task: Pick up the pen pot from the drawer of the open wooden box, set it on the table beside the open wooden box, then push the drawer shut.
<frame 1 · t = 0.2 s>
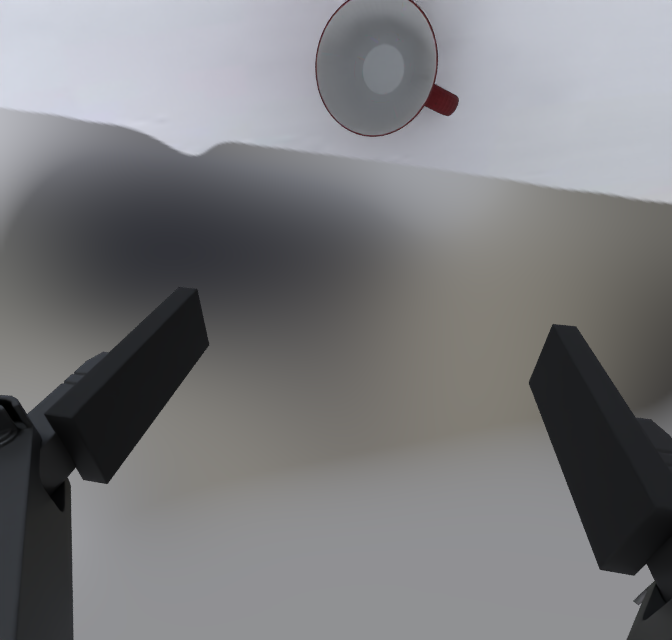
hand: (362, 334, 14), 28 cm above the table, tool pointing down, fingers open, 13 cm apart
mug: (397, 74, 33), on the table
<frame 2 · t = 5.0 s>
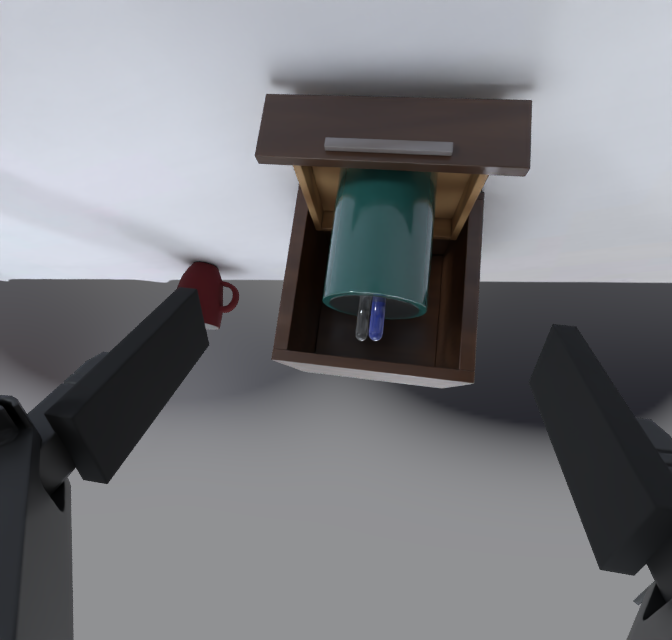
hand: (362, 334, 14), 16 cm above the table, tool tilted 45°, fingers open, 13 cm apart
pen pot: (388, 167, 27), point 2 cm above the table, touching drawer
open wooden box: (386, 223, 39), on the table
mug: (212, 265, 62), on the table
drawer: (386, 191, 28), point 3 cm above the table, slide at 10.0 cm, touching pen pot
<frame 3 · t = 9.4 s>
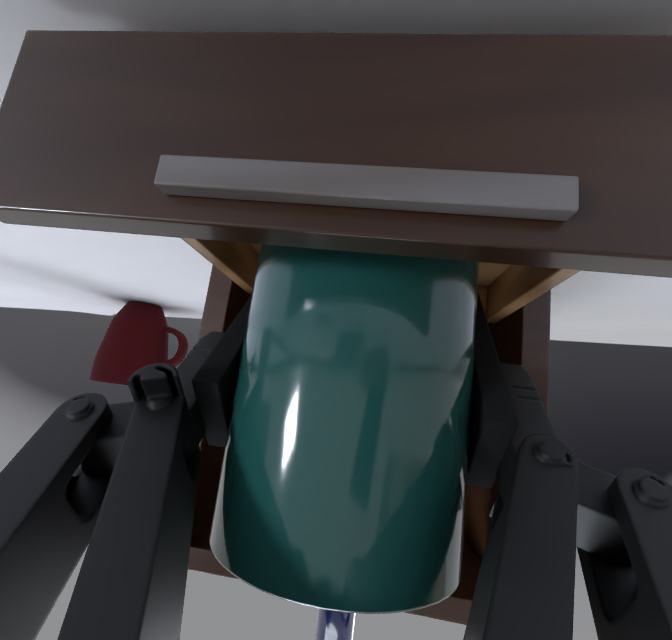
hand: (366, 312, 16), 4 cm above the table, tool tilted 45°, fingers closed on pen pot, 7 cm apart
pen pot: (373, 209, 13), point 2 cm above the table, touching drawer, gripper
open wooden box: (376, 277, 25), on the table
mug: (154, 304, 48), on the table
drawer: (368, 258, 13), point 3 cm above the table, slide at 10.0 cm, touching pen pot
when the fingers open (3 cm above the table, at t = 16.9 s): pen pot stays where it is, on the table.
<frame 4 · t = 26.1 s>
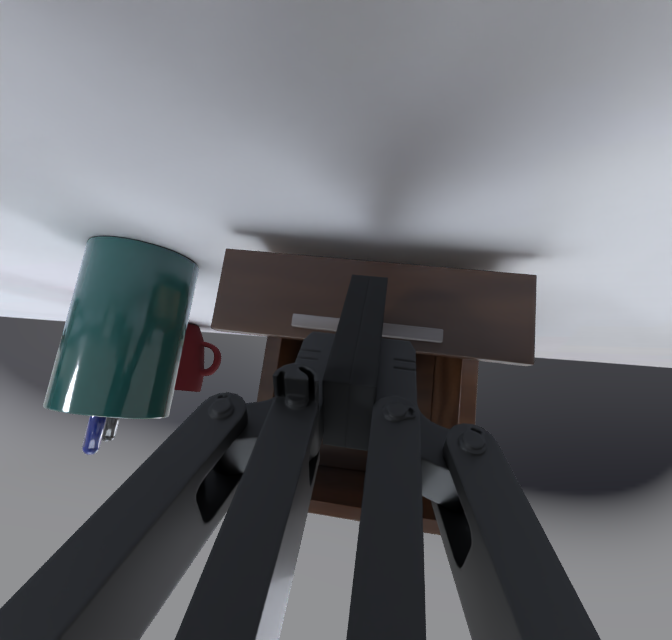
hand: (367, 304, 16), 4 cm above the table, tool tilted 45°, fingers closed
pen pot: (146, 257, 26), on the table
open wooden box: (374, 317, 36), on the table
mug: (193, 323, 59), on the table
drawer: (370, 327, 24), point 3 cm above the table, slide at 9.7 cm, touching gripper
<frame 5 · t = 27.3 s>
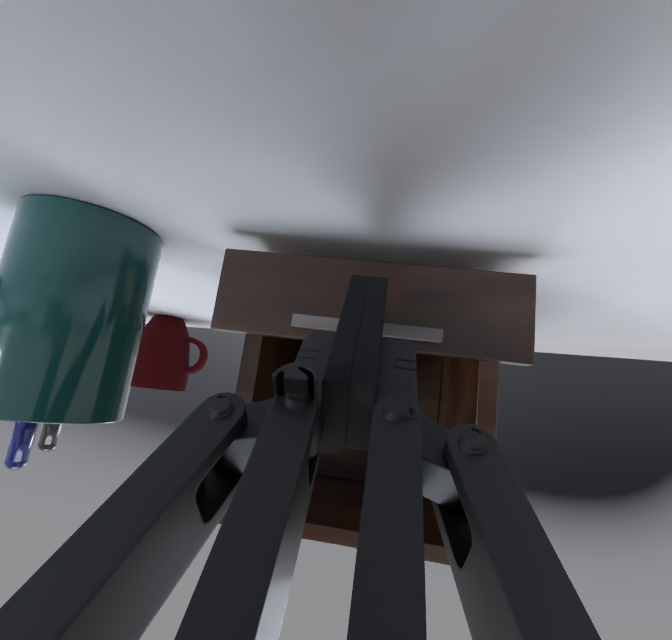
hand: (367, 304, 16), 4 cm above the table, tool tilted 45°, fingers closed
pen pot: (97, 226, 21), on the table
open wooden box: (374, 305, 31), on the table
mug: (177, 317, 54), on the table
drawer: (369, 327, 24), point 3 cm above the table, slide at 4.9 cm, touching gripper
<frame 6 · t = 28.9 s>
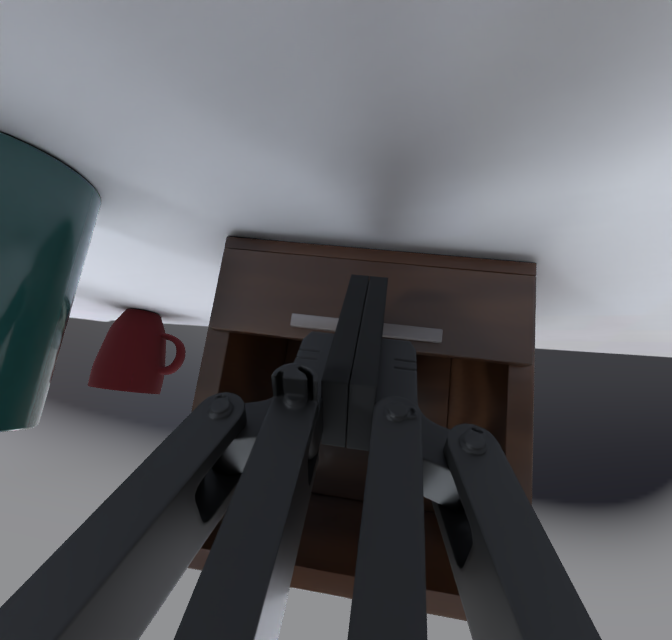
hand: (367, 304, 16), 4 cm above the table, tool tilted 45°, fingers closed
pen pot: (8, 170, 16), on the table
open wooden box: (373, 289, 26), on the table
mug: (152, 311, 49), on the table
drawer: (368, 329, 24), point 3 cm above the table, slide at -0.3 cm, touching gripper, open wooden box
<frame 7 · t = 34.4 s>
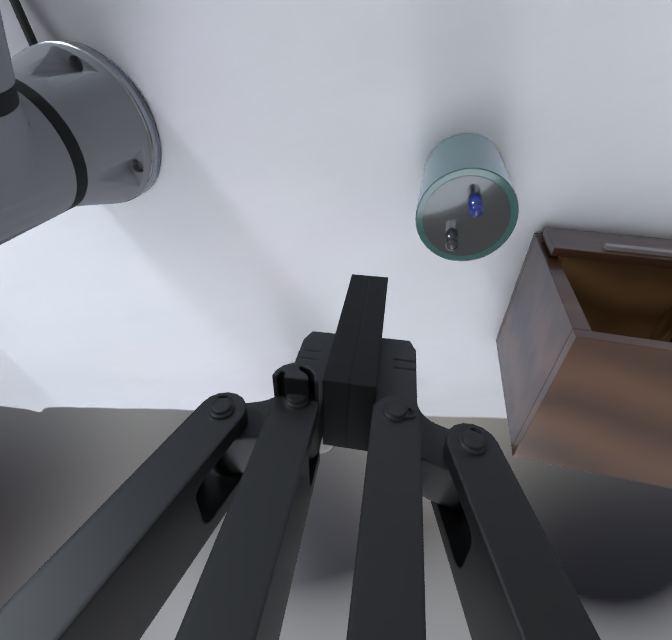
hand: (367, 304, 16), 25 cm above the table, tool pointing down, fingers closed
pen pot: (461, 173, 35), on the table
open wooden box: (593, 302, 40), on the table
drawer: (608, 308, 36), point 3 cm above the table, slide at 0.0 cm
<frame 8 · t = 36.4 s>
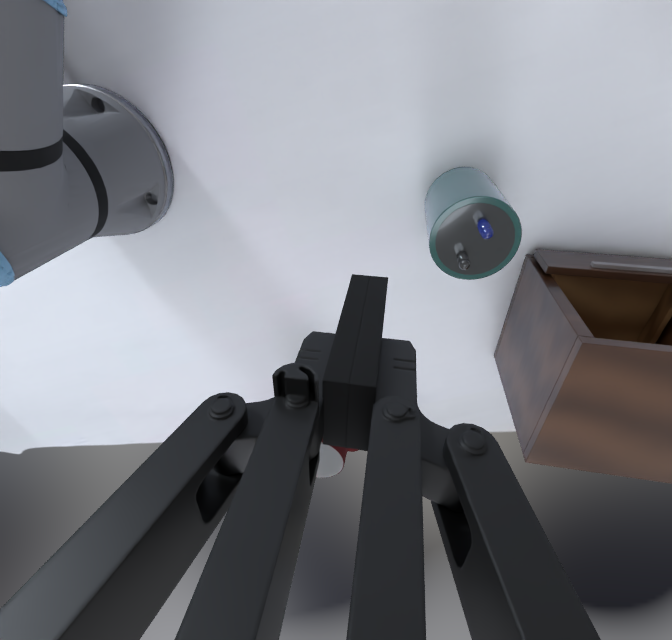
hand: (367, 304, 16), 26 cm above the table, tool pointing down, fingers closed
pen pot: (459, 202, 39), on the table
open wooden box: (580, 316, 43), on the table
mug: (335, 404, 58), on the table
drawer: (597, 320, 40), point 3 cm above the table, slide at 0.0 cm
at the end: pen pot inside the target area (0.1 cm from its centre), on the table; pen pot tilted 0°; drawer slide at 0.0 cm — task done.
